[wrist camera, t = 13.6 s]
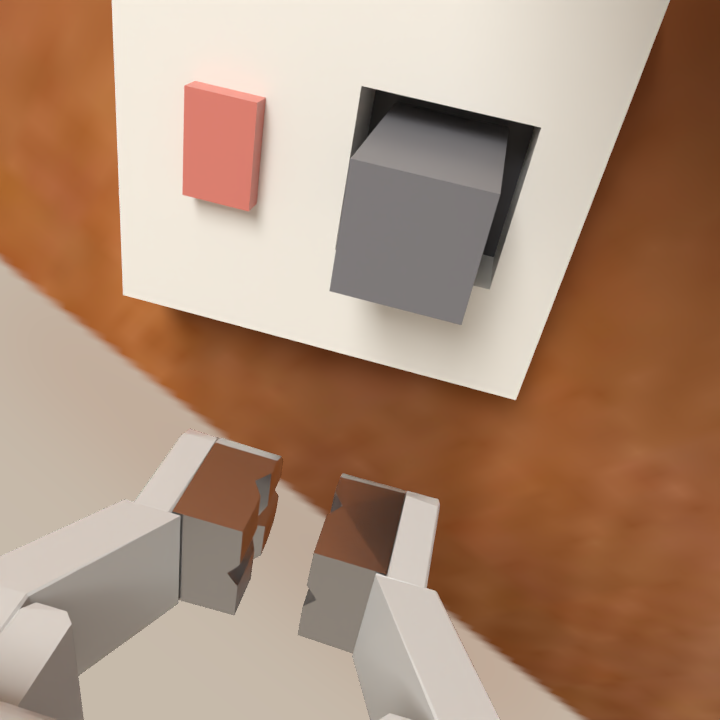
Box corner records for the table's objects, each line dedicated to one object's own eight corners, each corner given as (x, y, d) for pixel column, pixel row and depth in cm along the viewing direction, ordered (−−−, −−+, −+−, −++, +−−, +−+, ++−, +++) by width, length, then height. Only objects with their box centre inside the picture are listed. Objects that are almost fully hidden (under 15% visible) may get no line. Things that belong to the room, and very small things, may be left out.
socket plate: (658, -22, 20) (681, -13, 17) (517, 358, 28) (515, 412, 25) (156, -127, 21) (90, -137, 18) (158, 264, 29) (112, 303, 26)
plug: (509, 128, 23) (500, 194, 17) (477, 234, 25) (461, 325, 19) (395, 102, 23) (350, 158, 17) (375, 209, 25) (329, 291, 20)
